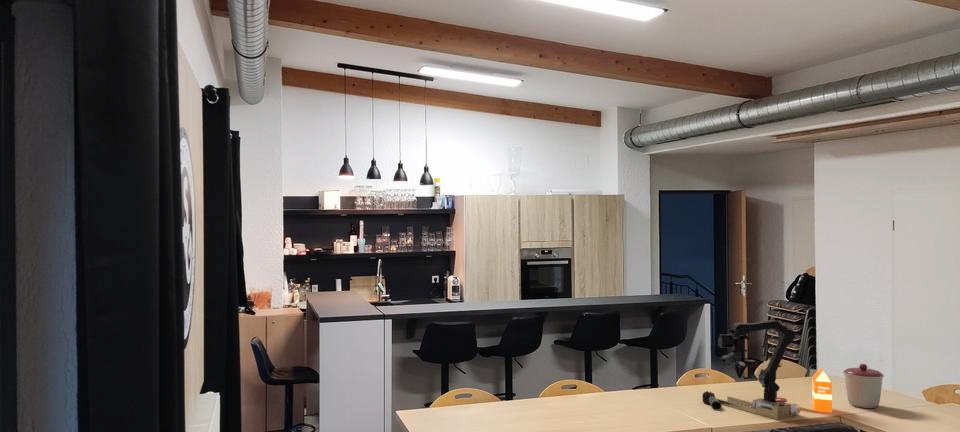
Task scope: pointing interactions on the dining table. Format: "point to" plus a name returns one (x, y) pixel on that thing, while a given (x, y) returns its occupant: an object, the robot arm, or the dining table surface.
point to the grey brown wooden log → (711, 400)
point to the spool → (763, 403)
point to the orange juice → (821, 392)
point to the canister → (863, 386)
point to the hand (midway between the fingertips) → (739, 377)
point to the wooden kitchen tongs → (777, 411)
